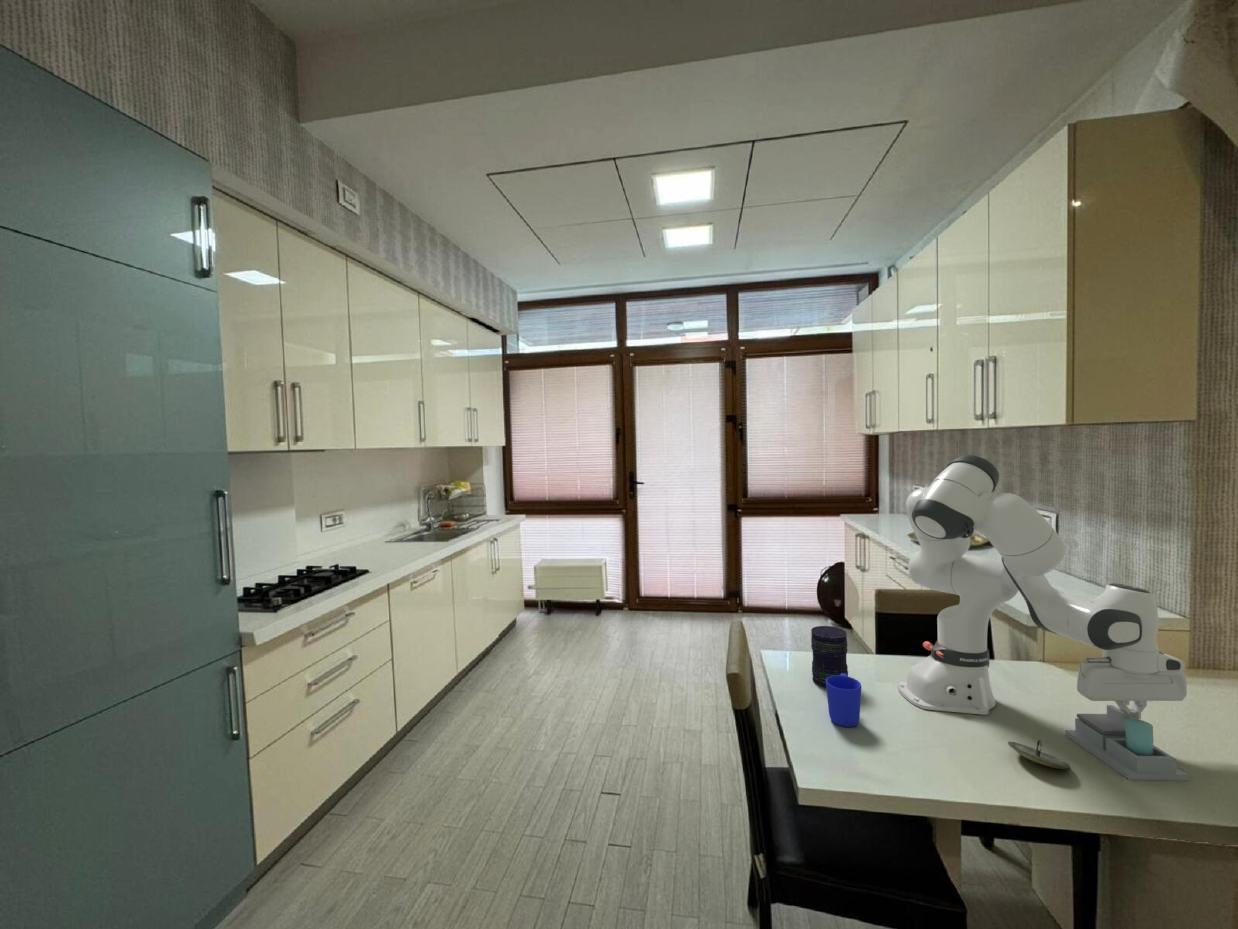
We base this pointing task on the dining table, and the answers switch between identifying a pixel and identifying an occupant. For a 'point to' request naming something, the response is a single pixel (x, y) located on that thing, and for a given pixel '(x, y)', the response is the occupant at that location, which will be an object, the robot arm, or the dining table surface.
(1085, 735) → the housing
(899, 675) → the dining table surface
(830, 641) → the storage jar
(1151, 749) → the jaw peg
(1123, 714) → the slide lid
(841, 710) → the mug
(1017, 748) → the lid
